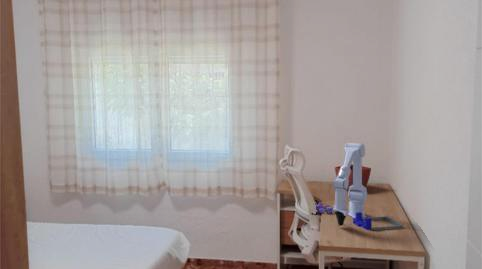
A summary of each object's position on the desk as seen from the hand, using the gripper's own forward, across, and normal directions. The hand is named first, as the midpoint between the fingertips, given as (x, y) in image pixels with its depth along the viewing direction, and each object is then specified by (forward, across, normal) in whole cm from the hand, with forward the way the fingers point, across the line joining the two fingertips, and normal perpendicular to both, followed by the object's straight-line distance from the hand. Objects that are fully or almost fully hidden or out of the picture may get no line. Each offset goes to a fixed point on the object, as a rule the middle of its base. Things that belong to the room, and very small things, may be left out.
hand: (340, 225), depth 218 cm
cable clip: (+2, 0, +12) cm, 12 cm away
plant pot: (+2, -79, +44) cm, 90 cm away
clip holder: (+1, 0, +23) cm, 23 cm away
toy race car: (+2, -30, +1) cm, 30 cm away
